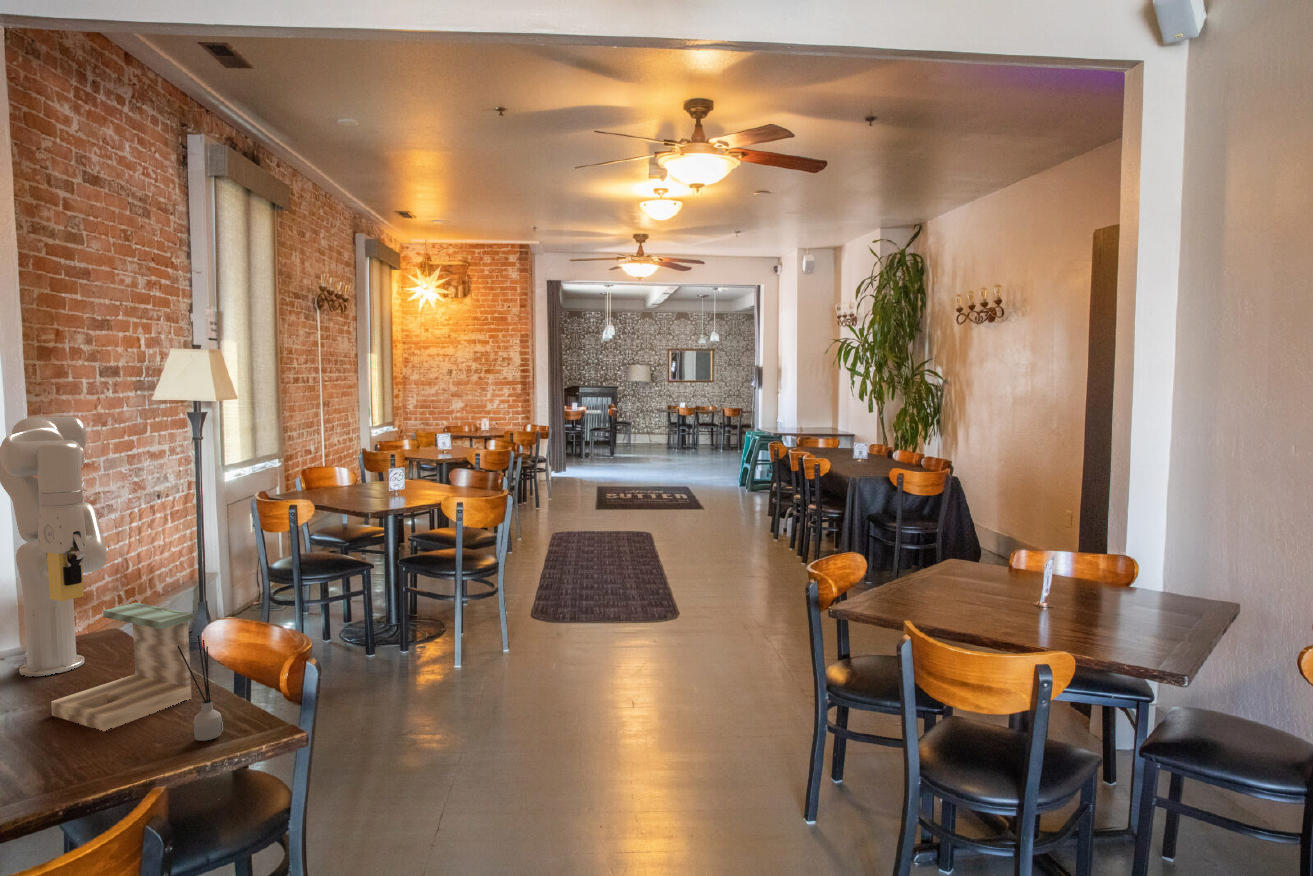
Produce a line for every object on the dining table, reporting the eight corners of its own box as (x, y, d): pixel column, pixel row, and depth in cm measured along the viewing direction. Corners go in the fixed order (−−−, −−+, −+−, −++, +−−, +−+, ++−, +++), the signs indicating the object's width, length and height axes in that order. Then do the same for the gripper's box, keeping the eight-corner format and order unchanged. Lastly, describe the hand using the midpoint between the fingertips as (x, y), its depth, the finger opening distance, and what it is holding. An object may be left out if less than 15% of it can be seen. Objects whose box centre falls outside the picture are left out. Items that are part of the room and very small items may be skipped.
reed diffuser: (227, 743, 152) (223, 640, 150) (186, 754, 147) (181, 648, 146) (216, 726, 159) (212, 628, 158) (177, 735, 155) (172, 635, 154)
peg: (49, 599, 172) (46, 544, 171) (72, 594, 176) (69, 540, 175) (61, 601, 170) (58, 545, 169) (83, 596, 174) (80, 541, 173)
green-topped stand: (49, 714, 165) (44, 625, 164) (139, 684, 182) (135, 602, 181) (107, 732, 157) (102, 638, 155) (196, 698, 173) (192, 613, 172)
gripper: (19, 500, 172) (25, 583, 173) (64, 503, 165) (69, 590, 166) (58, 495, 179) (63, 576, 180) (102, 499, 171) (107, 582, 172)
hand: (66, 582), depth 173 cm, fingers closed on peg, 4 cm apart
